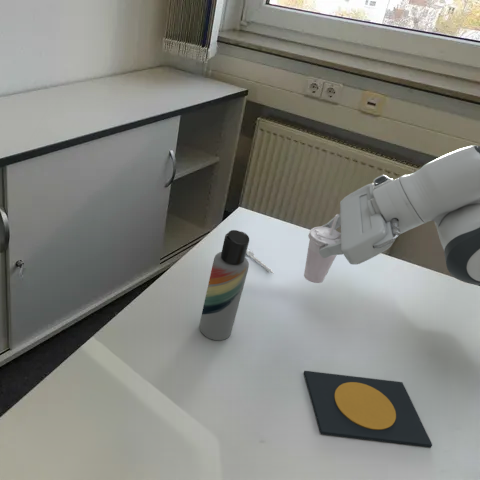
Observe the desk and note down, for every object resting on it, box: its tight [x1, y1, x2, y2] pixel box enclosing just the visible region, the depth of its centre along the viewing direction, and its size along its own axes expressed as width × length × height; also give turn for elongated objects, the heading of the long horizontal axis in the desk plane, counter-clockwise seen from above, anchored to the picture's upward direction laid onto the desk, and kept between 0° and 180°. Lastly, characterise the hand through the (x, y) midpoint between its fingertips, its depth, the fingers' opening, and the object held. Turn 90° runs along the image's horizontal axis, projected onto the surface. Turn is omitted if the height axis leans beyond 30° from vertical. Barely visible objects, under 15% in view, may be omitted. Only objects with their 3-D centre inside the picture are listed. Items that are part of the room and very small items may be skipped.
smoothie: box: [303, 213, 341, 284], centre depth 101 cm, size 6×6×14 cm
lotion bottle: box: [199, 229, 250, 341], centre depth 90 cm, size 6×6×20 cm
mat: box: [303, 370, 433, 448], centre depth 83 cm, size 16×12×1 cm
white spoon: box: [246, 248, 274, 274], centre depth 115 cm, size 14×4×2 cm, turn 30°
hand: (321, 242), depth 101 cm, fingers closed on smoothie, 6 cm apart
